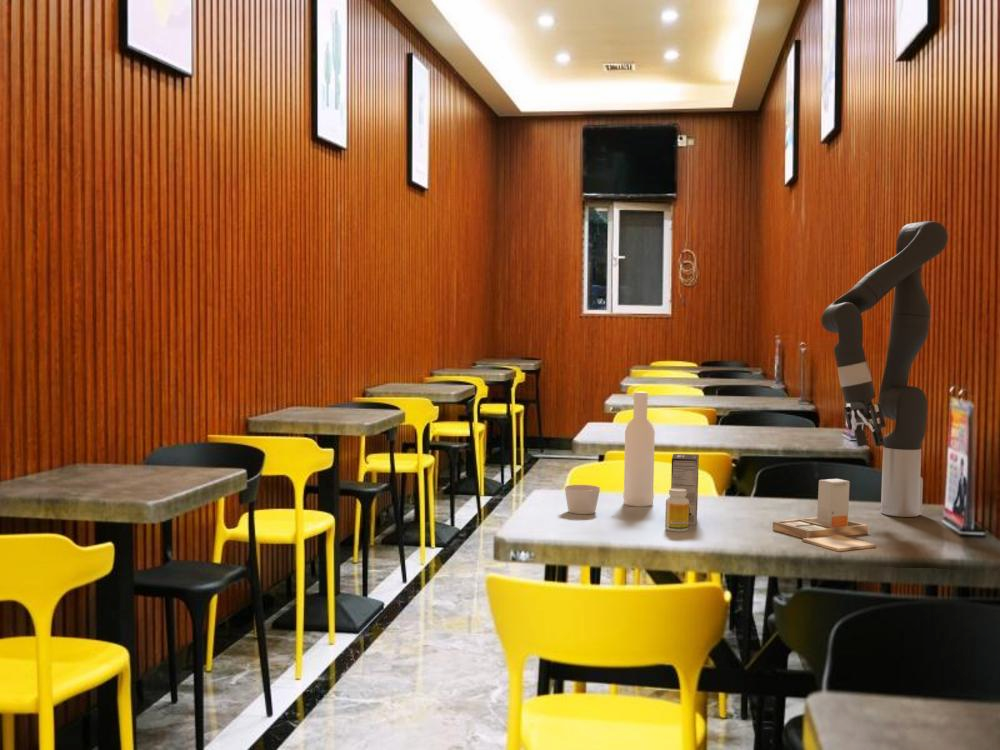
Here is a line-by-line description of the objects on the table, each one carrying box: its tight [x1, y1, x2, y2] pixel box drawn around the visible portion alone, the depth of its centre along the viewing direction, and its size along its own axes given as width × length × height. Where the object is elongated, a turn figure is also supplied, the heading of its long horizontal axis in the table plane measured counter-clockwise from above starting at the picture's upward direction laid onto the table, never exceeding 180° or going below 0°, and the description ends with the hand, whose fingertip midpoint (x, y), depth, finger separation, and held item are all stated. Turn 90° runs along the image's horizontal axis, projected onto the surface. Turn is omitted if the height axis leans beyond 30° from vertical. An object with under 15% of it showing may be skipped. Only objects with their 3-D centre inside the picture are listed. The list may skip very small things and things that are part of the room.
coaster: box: [801, 535, 877, 552], centre depth 228 cm, size 11×11×1 cm
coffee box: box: [670, 453, 700, 526], centre depth 252 cm, size 9×6×16 cm
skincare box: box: [816, 478, 850, 528], centre depth 243 cm, size 6×4×12 cm
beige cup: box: [564, 484, 601, 515], centre depth 263 cm, size 9×9×6 cm
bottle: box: [622, 391, 656, 508], centre depth 275 cm, size 8×8×30 cm
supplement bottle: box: [664, 487, 689, 533], centre depth 242 cm, size 5×5×10 cm
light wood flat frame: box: [772, 516, 869, 539], centre depth 242 cm, size 18×12×2 cm, turn 117°
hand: (870, 445), depth 256 cm, fingers open, 8 cm apart
